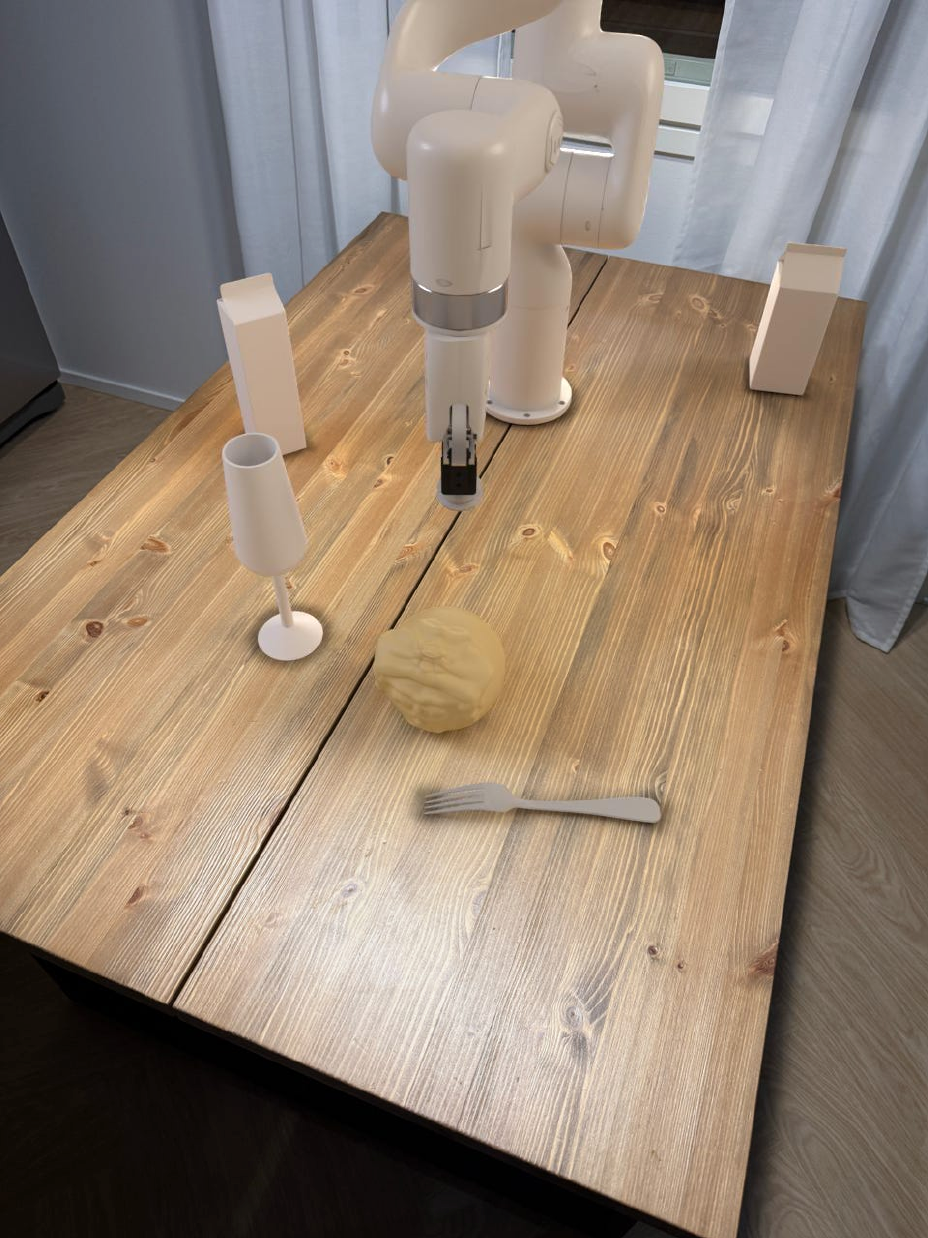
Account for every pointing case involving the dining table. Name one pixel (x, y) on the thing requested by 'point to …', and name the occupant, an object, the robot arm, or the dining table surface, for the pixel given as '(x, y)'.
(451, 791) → the fork
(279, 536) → the champagne flute
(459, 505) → the rook chess piece
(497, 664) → the yellow dough ball
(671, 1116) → the dining table surface
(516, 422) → the robot arm
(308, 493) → the dining table surface
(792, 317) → the milk carton
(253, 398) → the milk
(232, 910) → the dining table surface
